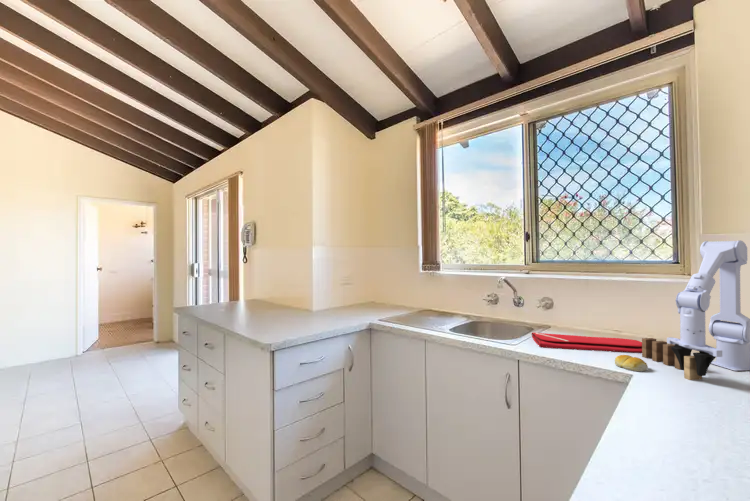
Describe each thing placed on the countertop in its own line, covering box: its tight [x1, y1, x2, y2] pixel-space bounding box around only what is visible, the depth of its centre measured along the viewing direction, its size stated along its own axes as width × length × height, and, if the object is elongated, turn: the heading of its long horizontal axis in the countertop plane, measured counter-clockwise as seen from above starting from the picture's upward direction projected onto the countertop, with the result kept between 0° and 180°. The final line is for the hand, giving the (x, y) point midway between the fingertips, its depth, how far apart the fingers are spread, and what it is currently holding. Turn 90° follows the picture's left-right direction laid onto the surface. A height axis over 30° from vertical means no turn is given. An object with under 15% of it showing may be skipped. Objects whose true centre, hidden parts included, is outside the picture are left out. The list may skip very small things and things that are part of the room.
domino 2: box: [651, 340, 668, 363], centre depth 119 cm, size 4×2×7 cm, turn 97°
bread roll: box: [614, 354, 649, 372], centre depth 114 cm, size 8×9×4 cm
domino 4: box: [674, 353, 692, 371], centre depth 111 cm, size 4×2×7 cm, turn 97°
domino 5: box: [683, 355, 703, 381], centre depth 103 cm, size 4×2×7 cm, turn 97°
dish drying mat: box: [531, 332, 642, 354], centre depth 139 cm, size 16×41×4 cm, turn 77°
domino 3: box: [662, 343, 675, 367], centre depth 115 cm, size 4×2×7 cm, turn 97°
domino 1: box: [641, 337, 657, 359], centre depth 123 cm, size 4×2×7 cm, turn 97°
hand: (692, 372), depth 103 cm, fingers open, 4 cm apart
